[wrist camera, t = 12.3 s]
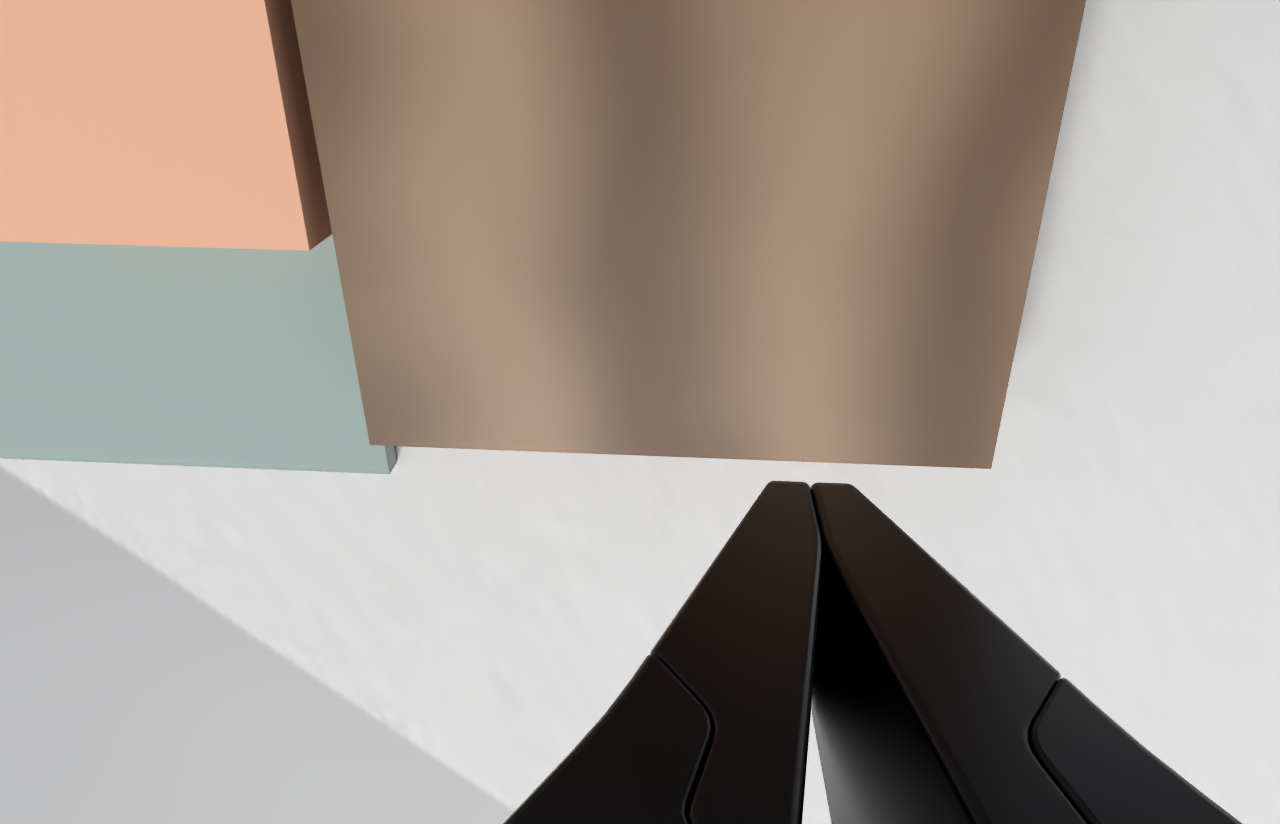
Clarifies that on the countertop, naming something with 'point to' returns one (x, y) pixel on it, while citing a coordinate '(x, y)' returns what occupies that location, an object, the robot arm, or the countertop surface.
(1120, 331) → the countertop surface
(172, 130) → the coaster
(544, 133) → the wooden block
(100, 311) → the mat
